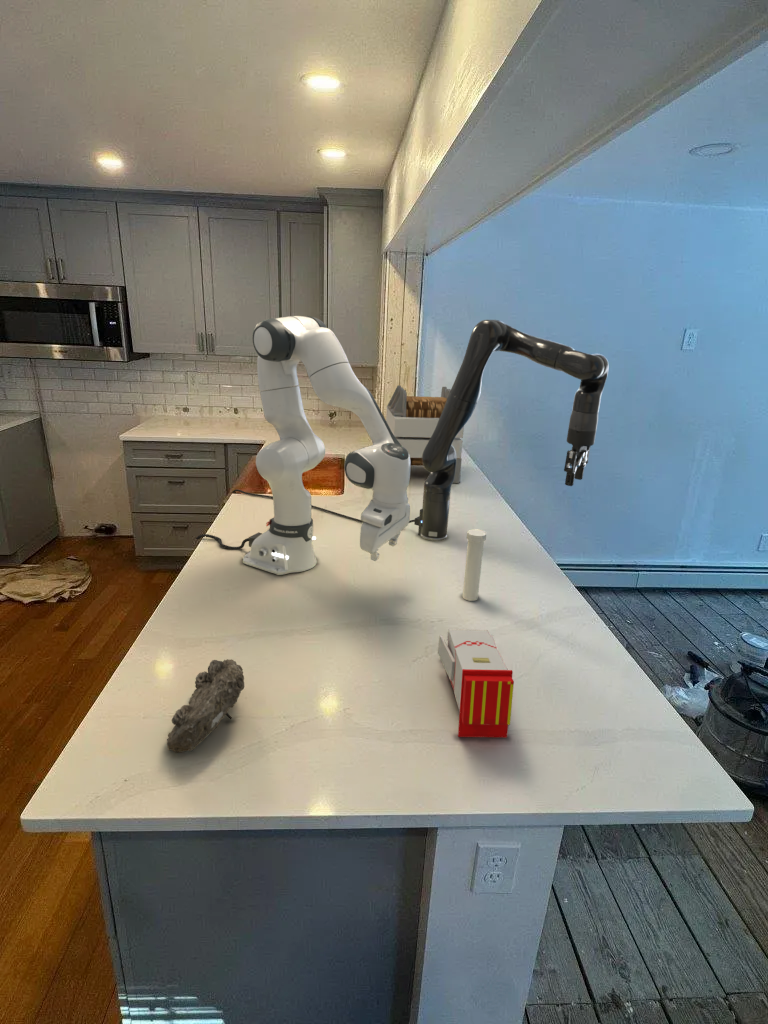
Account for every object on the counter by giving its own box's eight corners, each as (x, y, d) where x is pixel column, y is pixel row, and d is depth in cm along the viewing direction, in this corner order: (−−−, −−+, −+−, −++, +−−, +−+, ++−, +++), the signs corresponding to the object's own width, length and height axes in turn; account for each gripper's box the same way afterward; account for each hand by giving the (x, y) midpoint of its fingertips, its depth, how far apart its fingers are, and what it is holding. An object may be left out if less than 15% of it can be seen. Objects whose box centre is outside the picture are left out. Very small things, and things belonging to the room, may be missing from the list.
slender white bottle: (461, 599, 156) (468, 536, 150) (462, 592, 160) (469, 530, 154) (477, 601, 156) (484, 537, 149) (478, 594, 159) (485, 532, 153)
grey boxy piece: (382, 463, 289) (386, 382, 275) (445, 464, 293) (451, 384, 279) (390, 482, 257) (394, 392, 243) (460, 483, 261) (468, 394, 247)
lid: (466, 541, 150) (466, 534, 149) (467, 534, 155) (467, 528, 154) (485, 543, 149) (486, 537, 148) (486, 536, 154) (486, 530, 153)
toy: (488, 613, 130) (523, 677, 101) (484, 667, 133) (517, 744, 104) (435, 612, 130) (455, 676, 101) (432, 666, 133) (451, 743, 103)
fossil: (192, 660, 117) (244, 628, 112) (224, 691, 120) (276, 661, 115) (142, 746, 98) (202, 712, 93) (182, 779, 101) (242, 748, 96)
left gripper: (397, 489, 155) (392, 533, 161) (357, 516, 139) (353, 564, 145) (418, 496, 152) (412, 540, 159) (379, 525, 136) (374, 572, 143)
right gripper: (577, 422, 167) (568, 474, 173) (561, 428, 156) (552, 484, 162) (603, 425, 163) (593, 479, 169) (588, 433, 152) (578, 490, 158)
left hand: (383, 552), depth 152 cm, fingers open, 8 cm apart
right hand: (573, 482), depth 165 cm, fingers open, 8 cm apart
